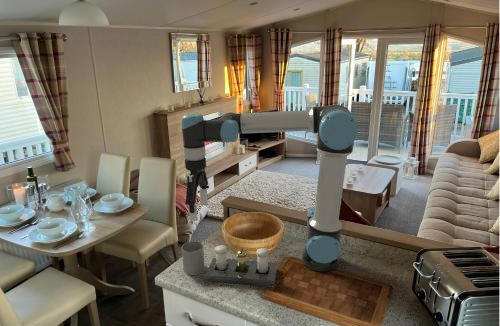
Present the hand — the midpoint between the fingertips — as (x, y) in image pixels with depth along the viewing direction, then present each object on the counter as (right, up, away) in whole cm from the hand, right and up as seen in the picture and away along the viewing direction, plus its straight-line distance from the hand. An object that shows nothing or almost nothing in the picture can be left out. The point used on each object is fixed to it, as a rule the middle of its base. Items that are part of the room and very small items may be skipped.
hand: (199, 212), depth 139 cm
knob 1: (+8, -22, +5) cm, 24 cm away
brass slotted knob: (+16, -22, +4) cm, 27 cm away
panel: (+16, -25, +5) cm, 30 cm away
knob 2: (+24, -22, +2) cm, 33 cm away
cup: (-3, -24, +10) cm, 26 cm away
